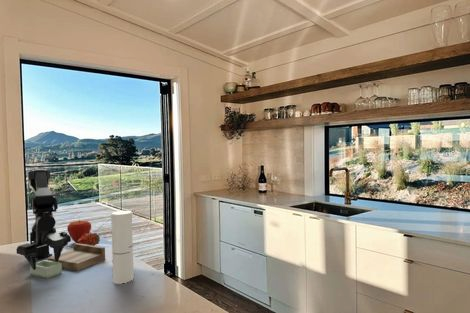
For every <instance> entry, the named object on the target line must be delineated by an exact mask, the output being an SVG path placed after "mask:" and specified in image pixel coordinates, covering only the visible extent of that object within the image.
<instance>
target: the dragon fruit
mask: <svg viewBox="0 0 470 313" xmlns="http://www.w3.org/2000/svg"><path fill="white" fill-rule="evenodd" d="M100 239H101V238H100V235H99V234H97V232H91V231H90V233H89V234H86V233H84V234H83V235H82V236H80V237H79V240H78V241H77V242H75V243H79V244H86V245H93V246H97V245H98V244H99V243H100Z"/></svg>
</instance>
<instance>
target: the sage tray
mask: <svg viewBox="0 0 470 313" xmlns="http://www.w3.org/2000/svg"><path fill="white" fill-rule="evenodd" d="M62 269H63V268H62V263H59V262H53V261H48V259H42V260H40V261H38V262H37V261H36V270H33V269H32V267H31V265H30V264H29V270H30V272H29V274H30V276H34V277H38V278H41V279H45V280H46V279H47V280H48V279H50V278H53V277H56V276H58V275H60V274H63V270H62Z"/></svg>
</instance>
